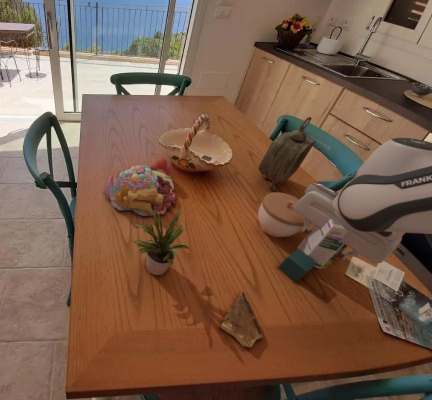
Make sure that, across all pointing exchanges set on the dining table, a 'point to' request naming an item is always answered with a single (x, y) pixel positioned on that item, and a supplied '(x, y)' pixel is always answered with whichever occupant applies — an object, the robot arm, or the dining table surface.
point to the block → (297, 265)
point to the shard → (242, 323)
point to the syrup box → (324, 243)
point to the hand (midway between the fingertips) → (322, 244)
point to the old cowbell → (286, 155)
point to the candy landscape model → (143, 189)
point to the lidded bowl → (280, 215)
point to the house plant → (161, 245)
